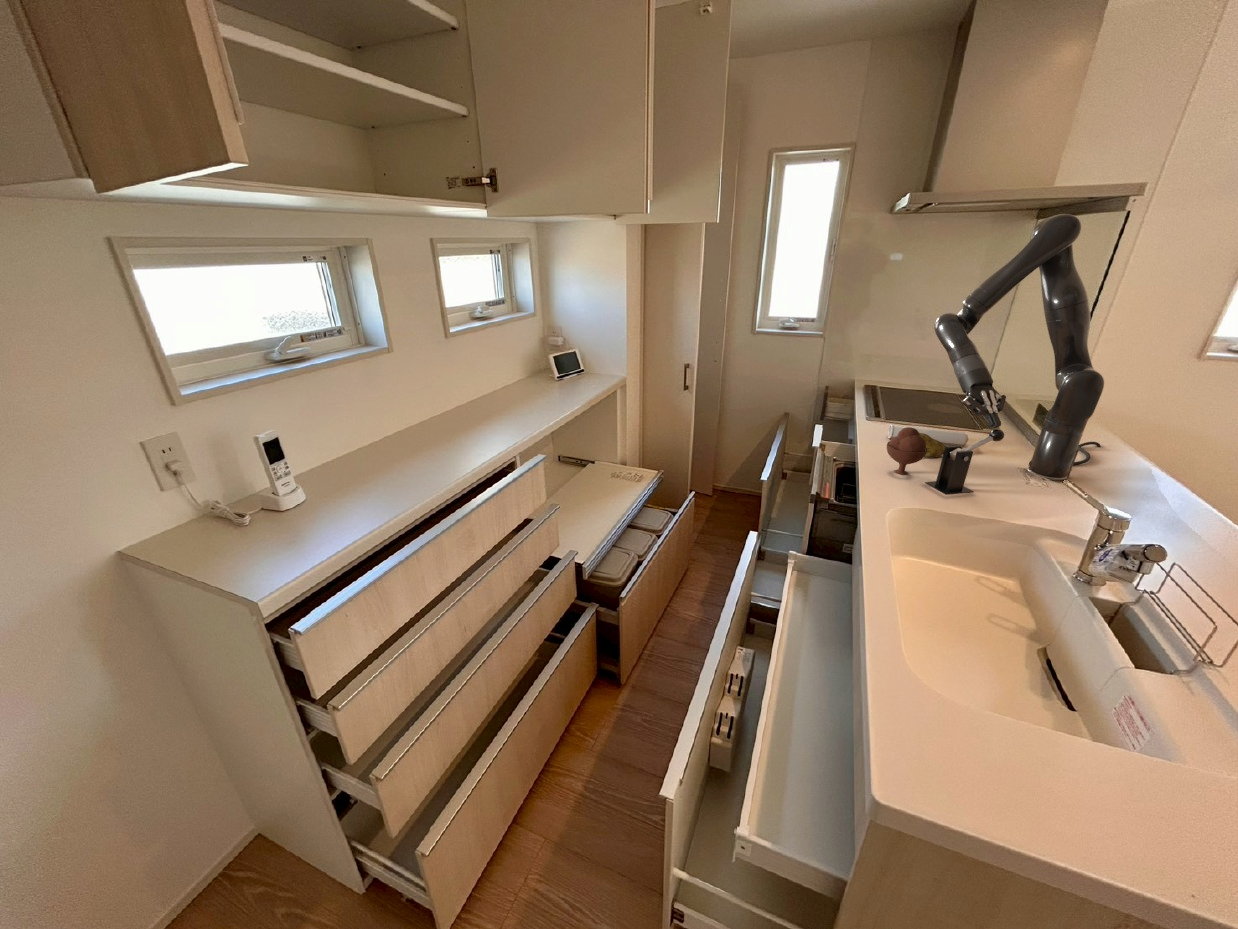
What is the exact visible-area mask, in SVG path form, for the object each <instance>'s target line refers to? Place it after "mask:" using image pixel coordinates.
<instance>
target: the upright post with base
mask: <svg viewBox="0 0 1238 929" xmlns="http://www.w3.org/2000/svg"><path fill="white" fill-rule="evenodd" d="M957 448H960V449H963V446H959V445H957V446H956V445H946V446H945V450H944V454H943V455H942V458H941V462H940V464H939V469H938V473H937V477H936V480H934V481H924V484H926V485H927V486H929V487H931V488H933V489H934V490H936V491H938V492H940V493H942V494H943V495H944V496H945V495H946V496H947V495H957V494H958V495H959V494H968V493H969V494H970V493H974V490H972V489H970V488H968V487H966V486H964V485H965V482H966V479H967V475H968V472H969V469H970V466H971V462H972V458H973V455H974V450H972V451H971V450H968V451H957V452H956V456H955V460H952V459H951V458H950V452H951V451H953V450H955V449H957Z"/></svg>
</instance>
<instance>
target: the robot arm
mask: <svg viewBox="0 0 1238 929" xmlns="http://www.w3.org/2000/svg"><path fill="white" fill-rule="evenodd" d="M1081 231H1082V223H1081V220H1080V219H1079V217H1077V216H1076V215H1074V214H1070V213H1059V214H1055V215H1052V216H1048V217H1046V218H1044V219H1042V220H1041V221H1039V223H1037V224H1036V226H1035V227H1034V228H1033V230H1032V233H1031V234H1030V241H1029V242H1028V243H1027V244H1026V245H1025V246H1024V247H1023V248H1022V249H1021V250H1020V251H1019V252H1018V253H1017V254H1016V255H1015V256H1014V257H1013V258H1011V259H1010V260H1009V261H1008V262H1007V263H1005V265H1003V266H1002V267H1001V268H999V269H997V271H995V272H994V273H993V274H992V275H990V276H989V277H988V278H987V279H985V280H984V281H982V283H981V284H980V285H978V286H977V287H976V288H975V289H974V290H973V291H971V293H970V294H969V295H968V296H967V297H966V298H965V299H964V300H963V301H962V309H960V311H959V312H958V313H957V314H956V313H952V312H947V313H943V314H942V315H940V316H939V317H937V319H936V321H935V322H934V328H933V329H934V333H935V335H936V337H937V339H938V341H939V342H940V343H941V345H942V346H943V349H945V351H946V353H947V356H948V358H949V361H950V364H951V365H952V368H953V373H954V374H955V377H956V379H957V382H958V384H959V386H960V388H961V391H962V393H963V394H965V396H966V397H965V398H964V399H963V400H961V404H962V405H963V406H965V407H966V408H967V409H968V410H970V411H971V412H972V413H973V414H975V415H976V416H977V417H978V416H979V417H980V416H982V417H983V418H984V419H985V421H986V423H987V426H988V427H989V428H990V429H998V428H1000V427H1001V426H1002V422H1001V419H1000V417H999V415H998V413H1000V412H1002V411H1003V410H1004V406H1005V403H1006V399H1007V396H1006V395H1005V394H1002V395H1000V394H999V393H997V390H996V389H995V388H994V386H993V384H994V380H993V378H992V377H993V376H992V375H991V373H990V371H989V369H988V366H987V365H986V362H985V361H984V359H983V357H982V356H981V354H980V352H979V350H978V348H977V345H976V344H975V342H974V341H973V340H972V339H971V338H970V337H969V336H968V335H969V334H970V333H971V332H972V331H973V330H974V328H975V327H976V326H977V325H978V324H979V322H980V321H981V319H982V318H983V317H984V315H986V314H987V313H988V312H990V310H991V309H992V308H994V307H995V306H996V305H997V304H998V303H999V302H1000V301H1002V300H1003V299H1004V298H1005V297H1006V296H1007V295H1008V294H1009V293H1010V292H1011V291H1012V290H1013V289H1015V288H1016V287H1017V286H1018V285H1019V284H1020V283H1021V282H1022V281H1024V280H1025V279H1026V278H1027V277H1028V276H1029V275H1030V274H1032V273H1033V272H1034V271H1036V270H1037V269H1039V274H1040V286H1041V297H1042V298H1041V299H1042V306H1043V307H1042V308H1043V313H1044V318H1045V322H1046V323H1045V324H1046V327H1047V332H1048V337H1049V340H1050V343H1051V347H1052V351H1053V355H1054V356H1053V357H1054V375H1055V376H1054V377H1055V378H1054V382H1055V383H1054V384H1055V388H1056V389H1057V394H1056V397H1055V400H1054V403H1053V405H1052V407H1051V408H1050V409H1048V410H1047V413H1046V415H1045V418H1044V421H1043V423H1042V424H1043V425H1042V428H1041V430H1040V433H1039V436H1038V440H1037V442H1036V445H1035V448H1034V450H1033V454H1032V457H1031V459H1030V461H1029V462H1028V465H1027V467H1028V468H1027V471H1028V472H1030V473H1032V474H1034V475H1037V476H1040V477H1042V478H1045V479H1046V480H1048V481H1052V482H1053V481H1054V482H1063V481H1065V480H1064V479H1066V480H1067V479H1068V478H1069V477H1070V474H1071V472H1072V469H1073V467H1074V466H1078V465H1082V464H1085V463H1087V462H1089V461H1090V459H1091V454H1090V453H1089V452H1088V451H1087V450H1086V449H1084V448H1082V447H1085V446H1091V445H1094V446H1096V447H1097V448H1101V447H1102V445H1101V444H1100V443H1099V442H1098V441H1085V442H1083V443H1081V440H1082V437H1083V434H1084V432H1085V429H1086V426H1087V424H1088V421H1089V420H1090V418H1091V417H1092V416H1093V415H1094V413H1095V411H1096V409H1097V406H1098V404H1099V401H1100V400H1101V397H1102V394H1103V392H1104V387H1105V379H1104V377H1103V375H1102V374H1101V373H1100V372H1098V371H1097V370H1096V369H1095V368H1094V366H1093V363H1092V359H1091V356H1090V352H1089V344H1088V342H1089V334H1090V328H1091V308H1090V302H1089V296H1088V292H1087V289H1086V287H1085V284H1084V281H1083V279H1082V277H1081V276H1080V274H1079V272H1078V269H1077V267H1076V263H1075V259H1074V249H1073V247H1074V246H1073V244H1074V243H1075V242H1076V240H1077V239H1078V238H1079V237H1080V234H1081ZM1079 452H1081V453H1082V454H1084V455H1085V458H1084V459H1082V460H1079V461H1078V460H1077V461H1076V459H1077V456H1078V454H1079Z"/></svg>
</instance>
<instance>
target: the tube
mask: <svg viewBox="0 0 1238 929" xmlns="http://www.w3.org/2000/svg"><path fill="white" fill-rule="evenodd" d="M907 427H908V426H904V425H894V424H889V427H888V432H887V438H888V440H891V439H892V438H894V437H895V436H897V435H898V433H899V432H900V431H901V430H902V429H903V428H907ZM911 427H912V428H915V429H916V430H917V431H918V432H920V433H925V434H927V435H929V436H930V437H931V438H933V439H935V440H938V441H940V442H942V443H943V444H945V445H946V446H957V445H959V446H962V447H963V446H967V444H968V442H969V434H968V433H965V432H964V431H963V432H962V431H953V430H942V429H933V428H924V427H913V426H911Z"/></svg>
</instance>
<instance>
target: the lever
mask: <svg viewBox="0 0 1238 929" xmlns="http://www.w3.org/2000/svg"><path fill="white" fill-rule="evenodd" d="M1004 438H1005V433H1004V431H1003V430H1001V429H998V428H994V429H991V431H990V432H989V433H988V436H986V437H985V438H983V439H981V440H979V441H977V442H975V443H972V444H970V445H968V446H967V447H964V448H961V449H960V448H957V449H955V450H953V451H951V452H950V458H951V459H952V460H955V456H956V452H957V451H968V450H971V451H974V450H976V449H978V448H980V447H982V446H984V445H986V444H989V443H991V442H1001V441H1002V440H1003V439H1004Z"/></svg>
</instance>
